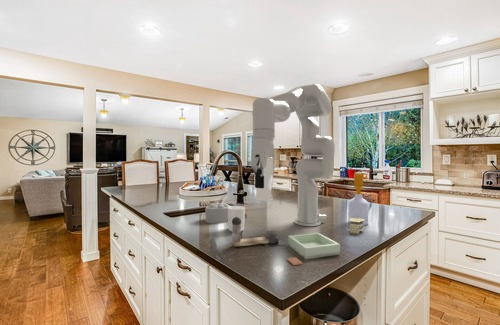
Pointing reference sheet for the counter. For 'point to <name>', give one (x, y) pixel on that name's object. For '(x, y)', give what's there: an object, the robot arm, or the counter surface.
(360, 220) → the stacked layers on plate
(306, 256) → the tray
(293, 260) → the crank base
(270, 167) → the beer glass
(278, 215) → the counter surface
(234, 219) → the crank lever
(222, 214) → the grey bumpy block
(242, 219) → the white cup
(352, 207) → the soap bottle
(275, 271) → the counter surface
